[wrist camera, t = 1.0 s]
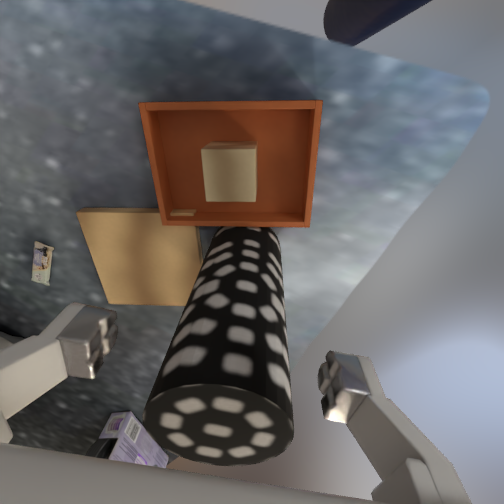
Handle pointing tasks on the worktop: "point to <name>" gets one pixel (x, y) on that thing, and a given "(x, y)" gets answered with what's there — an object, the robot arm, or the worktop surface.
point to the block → (230, 171)
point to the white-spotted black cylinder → (228, 359)
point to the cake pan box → (127, 442)
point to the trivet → (142, 254)
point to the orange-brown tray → (234, 129)
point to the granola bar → (41, 263)
